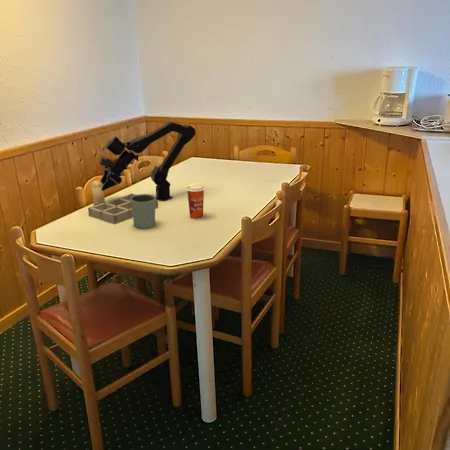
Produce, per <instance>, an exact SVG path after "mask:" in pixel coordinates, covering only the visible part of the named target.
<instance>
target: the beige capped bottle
mask: <svg viewBox="0 0 450 450" xmlns="http://www.w3.org/2000/svg"><path fill="white" fill-rule="evenodd" d="M90 185H91V186H90V187H91V194H92V202H93V206H95V205H98V204H101V203H105V202H106V199H105V190H104V191H102V190H101V188H102V187H103V185H104V184H102V182H101V180H99V179H97V180H94V181H92V182H91V184H90Z"/></svg>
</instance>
